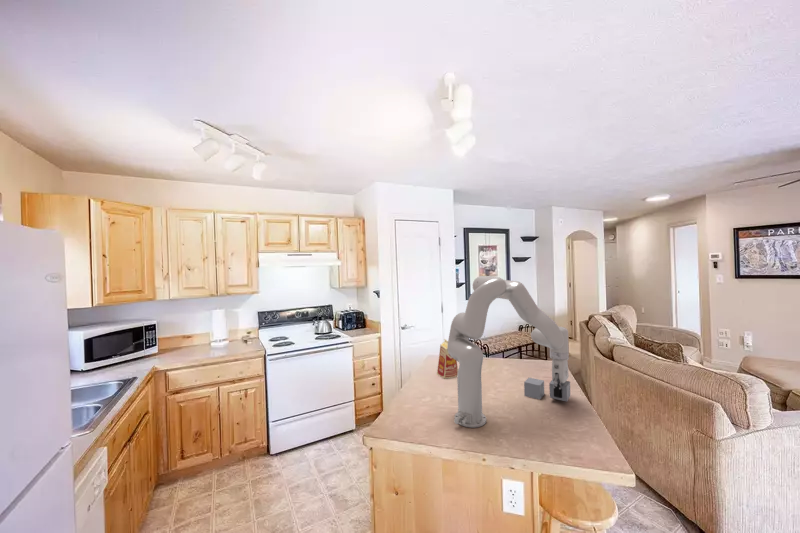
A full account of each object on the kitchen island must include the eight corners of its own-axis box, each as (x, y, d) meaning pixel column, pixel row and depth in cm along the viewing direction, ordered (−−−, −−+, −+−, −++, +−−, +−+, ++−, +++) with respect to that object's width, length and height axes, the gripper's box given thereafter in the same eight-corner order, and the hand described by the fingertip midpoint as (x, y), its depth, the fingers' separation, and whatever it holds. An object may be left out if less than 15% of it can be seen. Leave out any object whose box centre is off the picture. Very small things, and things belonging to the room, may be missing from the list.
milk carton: (436, 374, 181) (435, 339, 180) (450, 371, 184) (449, 337, 184) (445, 379, 172) (444, 342, 172) (459, 376, 176) (458, 340, 176)
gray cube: (540, 399, 145) (539, 385, 145) (524, 395, 150) (524, 382, 150) (544, 394, 151) (544, 380, 151) (529, 390, 155) (528, 377, 155)
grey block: (567, 401, 138) (566, 386, 138) (549, 397, 143) (549, 383, 143) (570, 395, 144) (570, 381, 144) (553, 392, 148) (553, 378, 148)
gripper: (564, 361, 134) (564, 403, 134) (572, 351, 147) (573, 389, 148) (544, 358, 138) (545, 399, 139) (554, 348, 152) (555, 385, 152)
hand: (560, 393), depth 143 cm, fingers closed on grey block, 7 cm apart
